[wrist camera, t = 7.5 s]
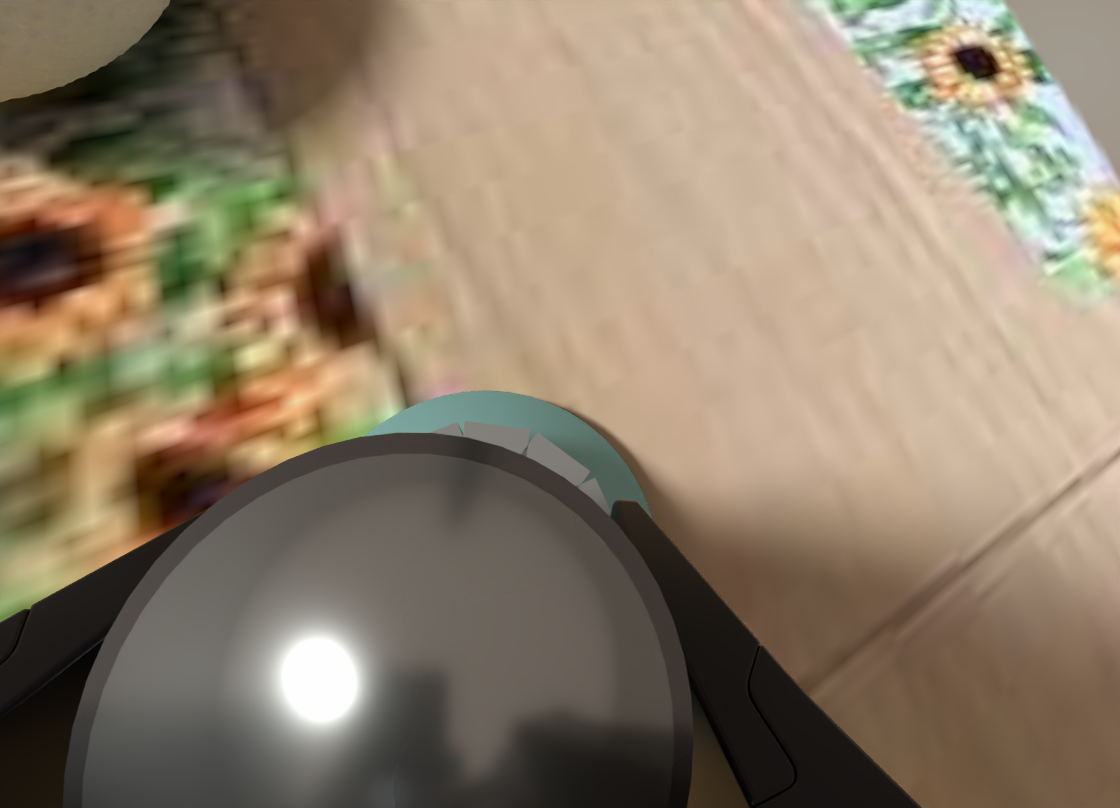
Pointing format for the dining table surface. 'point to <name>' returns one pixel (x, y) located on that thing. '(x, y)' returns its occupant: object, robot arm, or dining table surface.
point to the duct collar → (527, 438)
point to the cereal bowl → (66, 39)
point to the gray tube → (391, 647)
